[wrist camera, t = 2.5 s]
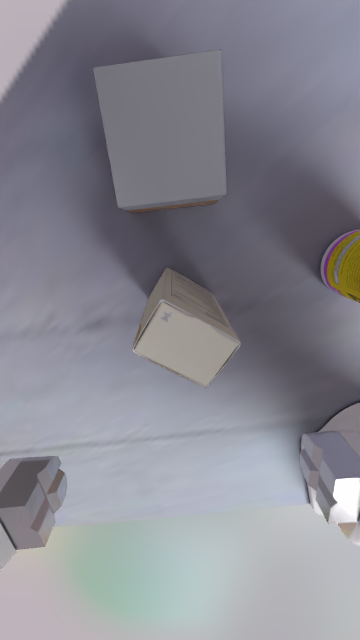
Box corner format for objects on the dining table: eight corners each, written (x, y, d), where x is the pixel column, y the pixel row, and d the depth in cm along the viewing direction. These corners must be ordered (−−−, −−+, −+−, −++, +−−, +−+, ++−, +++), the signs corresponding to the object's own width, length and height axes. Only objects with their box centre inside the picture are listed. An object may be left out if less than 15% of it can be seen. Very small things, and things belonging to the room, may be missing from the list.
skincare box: (147, 299, 28) (124, 350, 16) (166, 265, 26) (156, 294, 15) (196, 326, 29) (207, 392, 17) (217, 295, 27) (243, 344, 16)
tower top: (219, 199, 21) (226, 194, 18) (127, 210, 21) (117, 207, 18) (213, 81, 18) (221, 49, 15) (107, 95, 19) (92, 67, 15)
